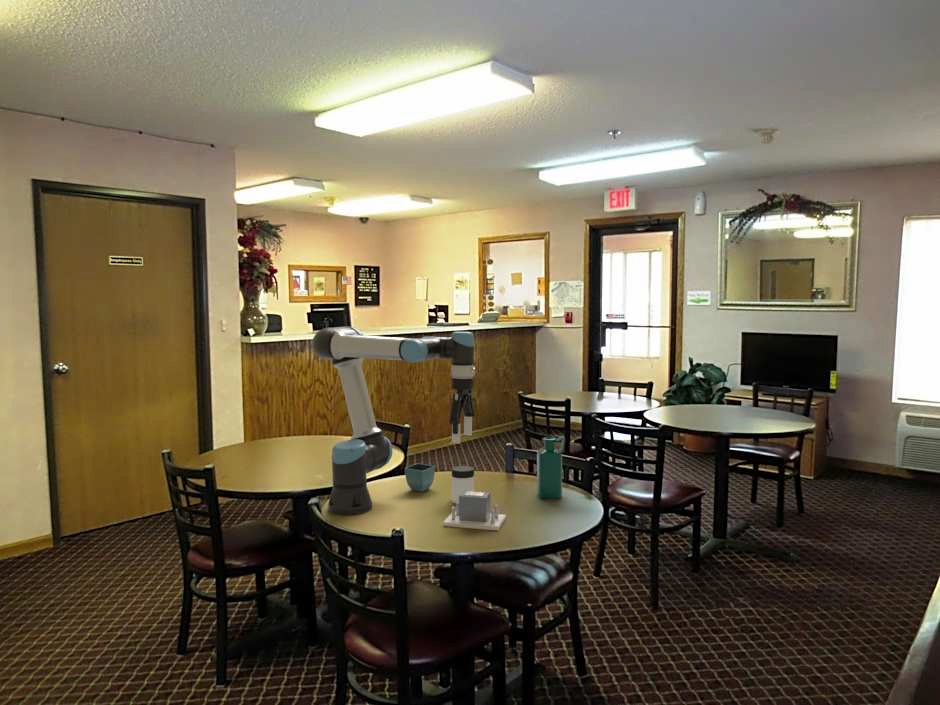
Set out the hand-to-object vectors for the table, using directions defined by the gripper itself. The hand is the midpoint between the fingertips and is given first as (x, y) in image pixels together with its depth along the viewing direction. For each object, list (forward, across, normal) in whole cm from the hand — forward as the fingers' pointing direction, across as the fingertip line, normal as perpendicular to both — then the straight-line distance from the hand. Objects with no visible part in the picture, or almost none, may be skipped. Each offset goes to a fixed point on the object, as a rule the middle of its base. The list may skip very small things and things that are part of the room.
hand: (462, 439), depth 220 cm
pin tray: (+25, -10, -8) cm, 28 cm away
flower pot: (+26, +20, +23) cm, 40 cm away
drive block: (+24, -10, -8) cm, 27 cm away
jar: (+26, +11, +3) cm, 28 cm away
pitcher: (+25, +26, -27) cm, 45 cm away
